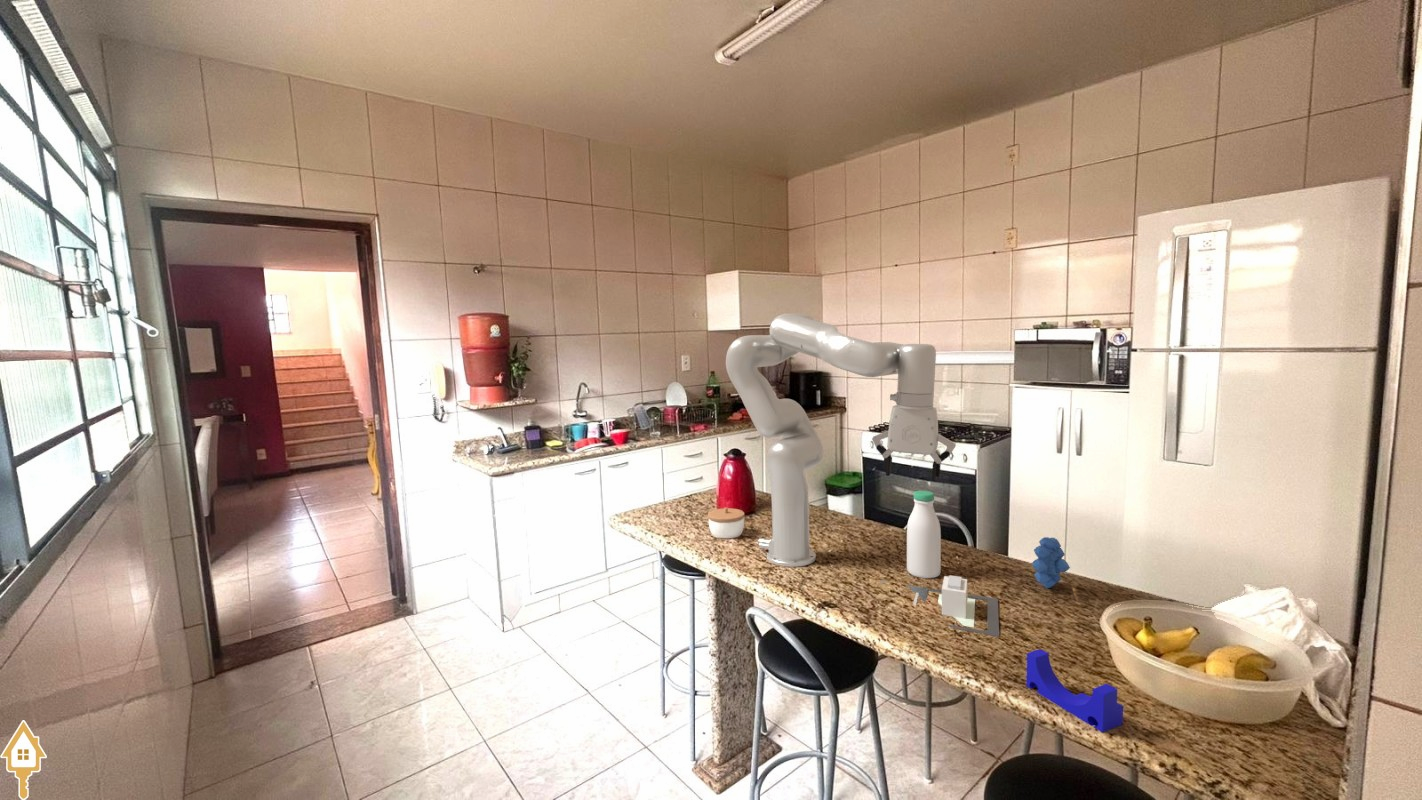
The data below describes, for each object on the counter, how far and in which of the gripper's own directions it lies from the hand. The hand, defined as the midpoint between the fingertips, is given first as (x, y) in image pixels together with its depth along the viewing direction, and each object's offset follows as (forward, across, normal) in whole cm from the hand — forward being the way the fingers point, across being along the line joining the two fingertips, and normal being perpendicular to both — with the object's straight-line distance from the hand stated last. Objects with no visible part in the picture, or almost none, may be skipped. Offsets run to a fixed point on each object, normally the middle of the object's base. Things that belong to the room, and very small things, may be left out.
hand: (911, 477), depth 125 cm
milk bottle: (+27, +3, +12) cm, 29 cm away
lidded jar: (+29, -52, +16) cm, 62 cm away
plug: (+26, +11, -6) cm, 28 cm away
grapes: (+25, +30, +13) cm, 41 cm away
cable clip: (+25, +29, -32) cm, 50 cm away
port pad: (+26, +11, -6) cm, 29 cm away
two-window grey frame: (+26, +3, -6) cm, 27 cm away
